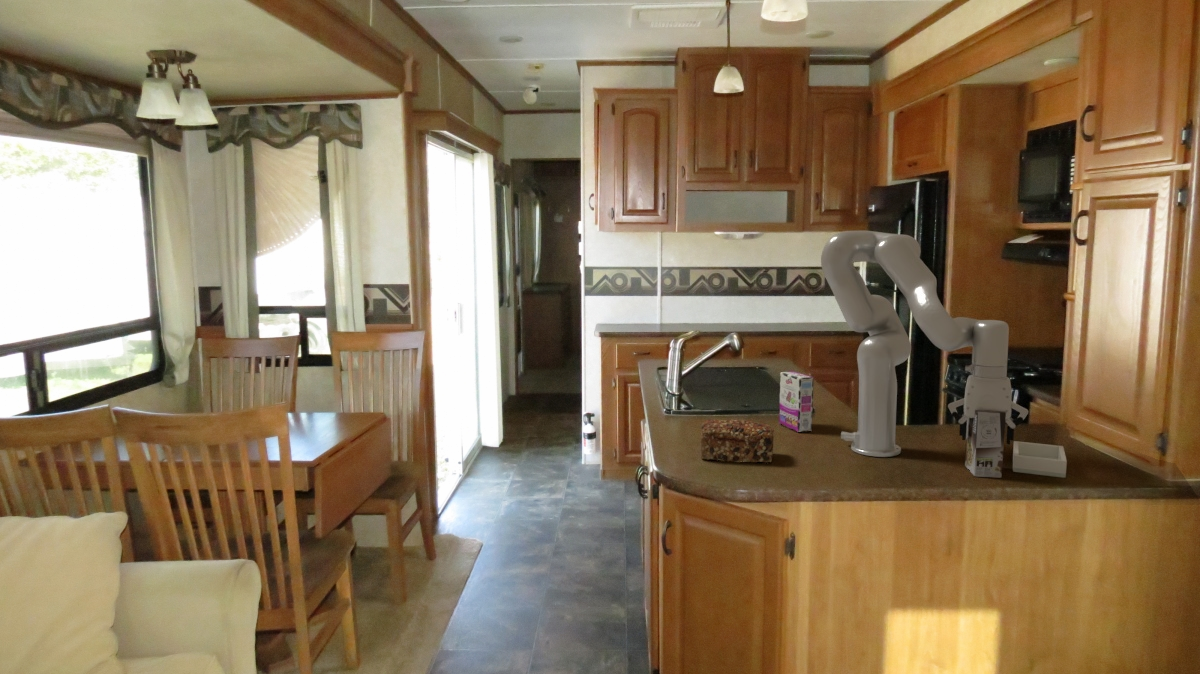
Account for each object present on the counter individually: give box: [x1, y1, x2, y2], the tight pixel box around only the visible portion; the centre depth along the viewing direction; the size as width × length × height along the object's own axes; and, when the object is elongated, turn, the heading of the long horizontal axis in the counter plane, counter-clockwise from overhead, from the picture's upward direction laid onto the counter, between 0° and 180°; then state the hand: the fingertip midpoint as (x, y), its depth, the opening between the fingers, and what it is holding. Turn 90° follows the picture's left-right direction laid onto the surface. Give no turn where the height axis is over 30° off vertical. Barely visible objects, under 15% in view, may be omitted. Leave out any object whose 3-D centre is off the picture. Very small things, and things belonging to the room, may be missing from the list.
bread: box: [700, 418, 775, 463], centre depth 200 cm, size 19×11×10 cm, turn 77°
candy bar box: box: [778, 370, 815, 433], centre depth 227 cm, size 11×5×16 cm, turn 18°
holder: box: [1012, 440, 1068, 479], centre depth 189 cm, size 11×14×4 cm
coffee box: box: [964, 410, 1006, 479], centre depth 185 cm, size 9×6×16 cm
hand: (985, 440), depth 185 cm, fingers open, 9 cm apart
